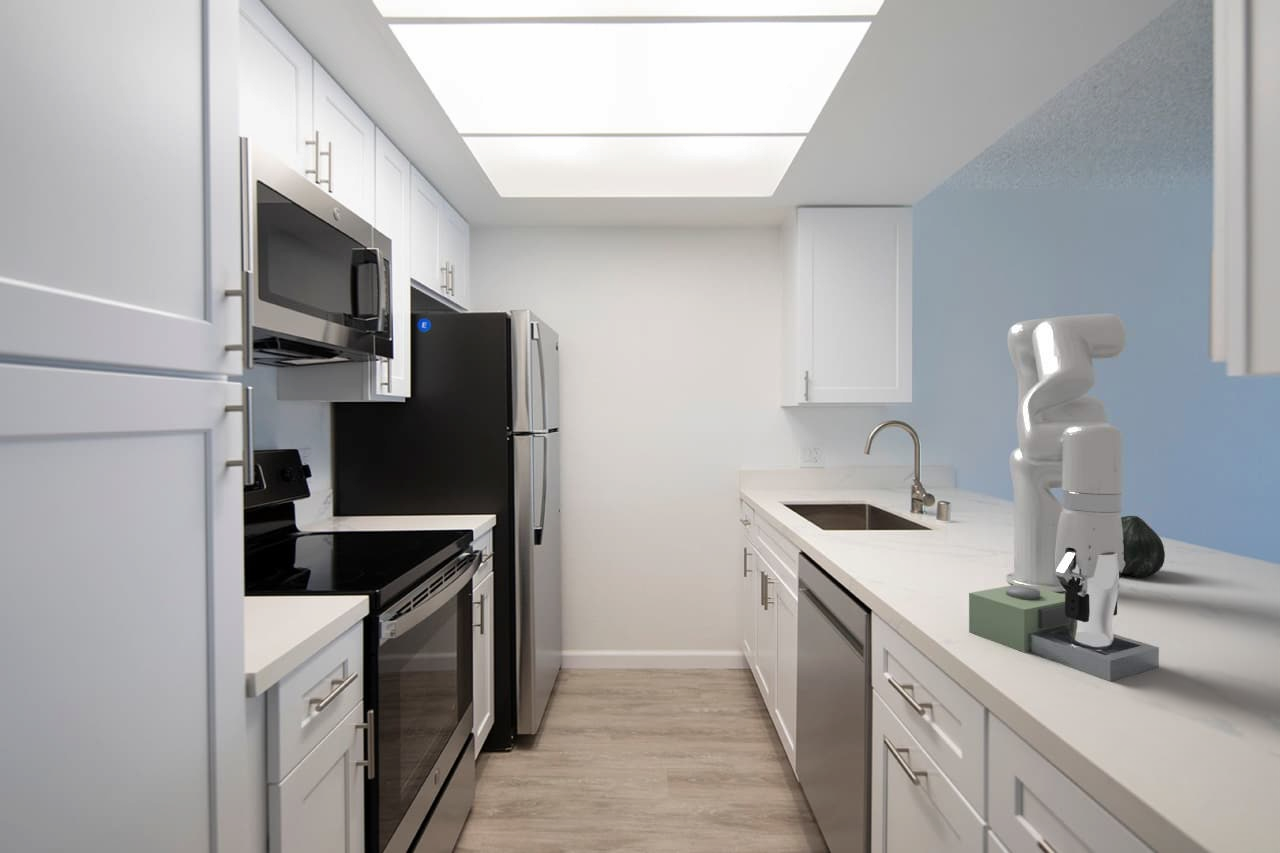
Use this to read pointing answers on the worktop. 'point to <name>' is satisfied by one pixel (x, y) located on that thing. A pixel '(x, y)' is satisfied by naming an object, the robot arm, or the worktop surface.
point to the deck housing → (1015, 613)
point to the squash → (1141, 548)
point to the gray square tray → (1095, 654)
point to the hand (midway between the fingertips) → (1091, 615)
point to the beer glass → (1098, 607)
